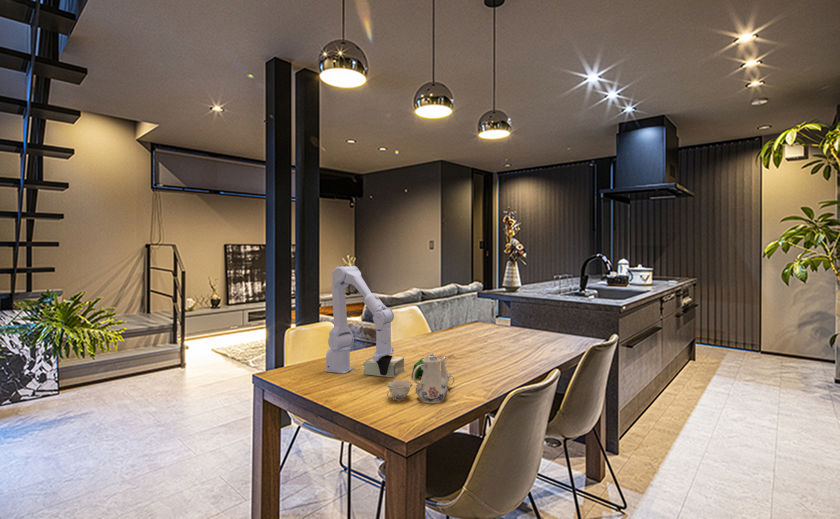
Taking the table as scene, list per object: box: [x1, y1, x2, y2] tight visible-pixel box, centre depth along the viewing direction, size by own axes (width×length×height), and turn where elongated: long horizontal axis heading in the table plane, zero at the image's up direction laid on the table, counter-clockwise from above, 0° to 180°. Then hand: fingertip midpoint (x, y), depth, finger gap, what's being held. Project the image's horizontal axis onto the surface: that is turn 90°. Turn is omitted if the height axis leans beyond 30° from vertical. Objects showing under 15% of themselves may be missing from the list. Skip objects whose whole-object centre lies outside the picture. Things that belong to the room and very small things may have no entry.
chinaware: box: [386, 351, 455, 405], centre depth 142 cm, size 28×17×17 cm, turn 132°
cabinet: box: [365, 355, 405, 378], centre depth 170 cm, size 13×10×6 cm
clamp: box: [411, 357, 425, 380], centre depth 165 cm, size 12×6×9 cm, turn 156°
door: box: [363, 360, 396, 378], centre depth 165 cm, size 14×1×5 cm, turn 71°
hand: (383, 374), depth 161 cm, fingers closed
